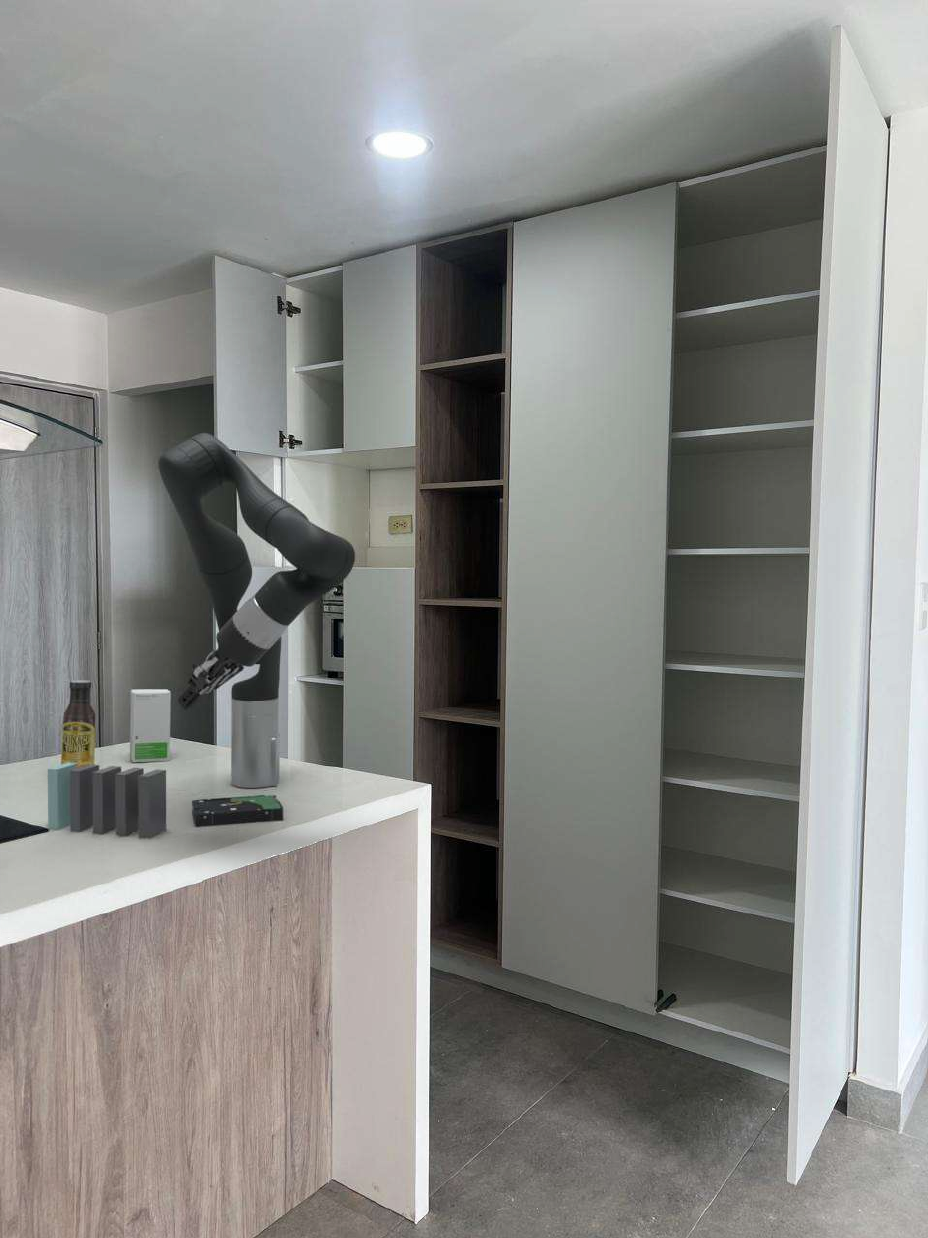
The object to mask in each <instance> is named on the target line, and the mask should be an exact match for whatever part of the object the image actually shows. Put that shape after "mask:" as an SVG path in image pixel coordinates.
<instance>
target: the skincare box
mask: <svg viewBox="0 0 928 1238" xmlns="http://www.w3.org/2000/svg"><path fill="white" fill-rule="evenodd" d="M171 695H172V693H171V690H168V689H161V688H160V689H158V688H157V689H150V688H149V689H145V688H144V689H143V688H142V689H138V688H137V689H130V720H129V721H130V723H129V725H130V727H129V731H130V732H129V758H130V761H131V763H135V764H136V763H149V762H150V763H155V762H169V761H170V758H171V757H170V752H171V697H172V696H171Z"/></svg>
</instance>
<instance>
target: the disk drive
mask: <svg viewBox="0 0 928 1238" xmlns="http://www.w3.org/2000/svg"><path fill="white" fill-rule="evenodd" d="M191 813H192V819H193V825H194V828H200V827H201V826H203V827H212V826H213V827H214V826H215V827H217V826H226V825H227V826H228V825H240V824H253V823H265V822H267V823H268V822H269V823H270V822H281V821H284V806H283V805H282V803H281V801H280V800H279V799H278V797H277V795H276V794H271V795H270V794H269V795H264V794H261V795H249V796H248V795H247V796H235V797H234V796H233V797H218V798H215V797H214V798H200V799H192V801H191Z"/></svg>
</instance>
